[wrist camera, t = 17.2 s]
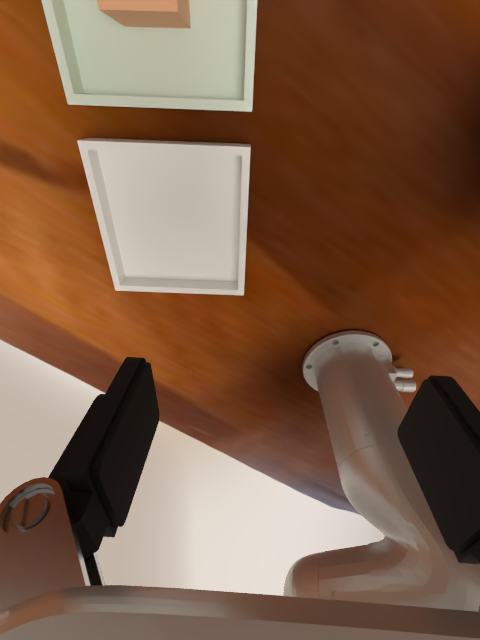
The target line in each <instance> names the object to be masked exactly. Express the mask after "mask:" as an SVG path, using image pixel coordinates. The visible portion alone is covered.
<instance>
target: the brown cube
mask: <svg viewBox="0 0 480 640" xmlns="http://www.w3.org/2000/svg"><path fill="white" fill-rule="evenodd" d="M97 3H98V9H99V10H100V11H102V12H103V13H105V14H106V15H108V16H109V17H111V18H113V19H114V20H116V21H117V22H119V23H120V24H122V25H124V26H125V27H155V28H191V25H190V7H189V0H97Z"/></svg>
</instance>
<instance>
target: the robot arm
mask: <svg viewBox="0 0 480 640" xmlns="http://www.w3.org/2000/svg"><path fill="white" fill-rule="evenodd" d="M302 370H303V375H304V378H305V380H306V382H307V383H308V384H309V386H311V387H312V388H313V389H314V390H316V391H318V392H319V395H320V399H321V403H322V407H323V411H324V415H325V420H326V424H327V428H328V432H329V436H330V440H331V444H332V448H333V452H334V456H335V460H336V464H337V468H338V473H339V477H340V481H341V485H342V488H343V490H344V492H345V495H346V497H347V498H348V500H349V502H350V503H351V504H352V506H353V507H354V508H355V509H356V510H357V511H358V512H359V513H360V514H361V515H362V516H363V517H364V518H365V519H367V520H368V521H369V522H370V523H372V524H373V525H374V526H375V527H376V528H377V529H379V530H380V531H381V532H382V533H384V534H385V538H384V539H383V540H381V541H379V542H375V543H370V544H368V545H363V546H356V547H350V548H344V549H338V550H331V551H325V552H322V553H316V554H312V555H308V556H306V557H303V558H301V559H299V560H298V561H297V562H295V563H294V564H293V566H292V567H291V568H290V570H289V572H288V575H287V577H286V581H285V586H284V596H276V595H263V594H248V593H235V592H220V591H208V590H207V591H206V590H194V589H180V588H160V587H142V586H121V585H105V583H104V579H103V576H102V572H101V570H100V566H99V562H98V559H97V555H96V551H97V550H98V549H99V547H100V544H101V542H102V539H103V536H106V537H115V534H116V531H117V528H118V526H123V525H124V523H125V520H126V518H127V515H128V512H129V509H130V506H131V503H132V500H133V497H134V494H135V491H136V488H137V485H138V482H139V479H140V476H141V473H142V470H143V467H144V464H145V461H146V458H147V455H148V452H149V449H150V446H151V443H152V440H153V437H154V434H155V431H156V428H157V425H158V422H159V408H158V402H157V397H156V391H155V386H154V380H153V374H152V369H151V364H150V363H148V362H146V360H145V359H144V358H136V357H127V358H126V359H125V360H124V362H123V364H122V365H121V367H120V369H119V371H118V372H117V374H116V376H115V378H114V380H113V381H112V383H111V385H110V387H109V388H108V390H107V392H106V394H100V395H99V396H97V397H96V399H95V400H94V401H93V403H92V405H91V407H90V408H89V410H88V412H87V413H86V415H85V417H84V419H83V420H82V422H81V423H80V425H79V427H78V428H77V430H76V432H75V434H74V435H73V437H72V439H71V440H70V442H69V444H68V445H67V447H66V449H65V450H64V452H63V454H62V456H61V457H60V459H59V461H58V462H57V464H56V465H55V467H54V469H53V470H52V472H51V474H50V476H49V477H48V478H45V477H43V478H36V479H33V480H30V481H28V482H25V483H23V484H22V485H20V486H19V487H17V488H16V489H14V490H13V491H12V492H11V493H10V494H9V495H7V496H6V497H5V498H4V500H3V501H2V502H1V504H0V640H480V412H479V410H478V409H477V408H476V407H475V405H474V404H473V403H472V401H471V400H470V399H469V397H468V396H467V395H466V394H465V392H464V391H463V390H462V388H461V387H460V386H459V385H458V383H457V382H456V381H455V380H454V379H453V378H452V377H448V376H430V377H429V378H428V379H427V380H424V381H423V383H422V385H421V386H420V388H419V390H418V392H417V394H416V396H415V398H414V399H413V401H412V403H411V405H410V407H409V409H407V407H406V405H405V403H404V401H403V399H402V398H401V396H400V394H399V392H398V391H400V392H414V391H415V390H416V383H415V381H414V379H408V378H412V377H413V370H412V369H411V368H396V367H395V366H393V365H392V354H391V351H390V349H389V347H388V346H387V344H386V343H385V342H384V341H383V340H382V339H381V338H380V337H378V336H377V335H374V334H372V333H369V332H365V331H355V330H351V331H343V332H339V333H335V334H332V335H330V336H327V337H325V338H323V339H322V340H320V341H318V342H317V343H316V344H315V345H313V346H312V347H311V348H310V350H309V351H308V352H307V354H306V355H305V357H304V360H303V364H302ZM396 377H404V378H399V379H395V378H396Z"/></svg>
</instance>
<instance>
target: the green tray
mask: <svg viewBox="0 0 480 640" xmlns="http://www.w3.org/2000/svg"><path fill="white" fill-rule="evenodd" d="M41 1H42V5H43V9H44V12H45V16H46V20H47V24H48V28H49V32H50V36H51V40H52V44H53V48H54V52H55V56H56V60H57V63H58V67H59V71H60V75H61V79H62V83H63V87H64V91H65V95H66V99H67V103H68V105H94V106H119V107H145V108H171V109H197V110H222V111H248V112H252V106H253V84H254V62H255V40H256V18H257V0H189V7H190V25H191V28H155V27H125V26H124V25H122V24H120V23H119V22H117V21H116V20H114V19H113V18H111V17H109V16H108V15H106V14H105V13H103V12H102V11H100V10H99V9H98V3H97V0H41Z"/></svg>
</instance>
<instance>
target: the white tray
mask: <svg viewBox="0 0 480 640" xmlns="http://www.w3.org/2000/svg"><path fill="white" fill-rule="evenodd" d="M77 142H78V146H79V150H80V154H81V158H82V161H83V165H84V169H85V173H86V177H87V181H88V185H89V189H90V193H91V197H92V201H93V205H94V209H95V212H96V216H97V220H98V224H99V228H100V232H101V236H102V240H103V244H104V248H105V252H106V256H107V260H108V263H109V267H110V271H111V275H112V279H113V283H114V287H115V291H141V292H167V293H193V294H220V295H244V281H245V259H246V237H247V215H248V193H249V171H250V149H251V145H250V144H238V143H212V142H186V141H160V140H134V139H109V138H86V139H81V140H77Z"/></svg>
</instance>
